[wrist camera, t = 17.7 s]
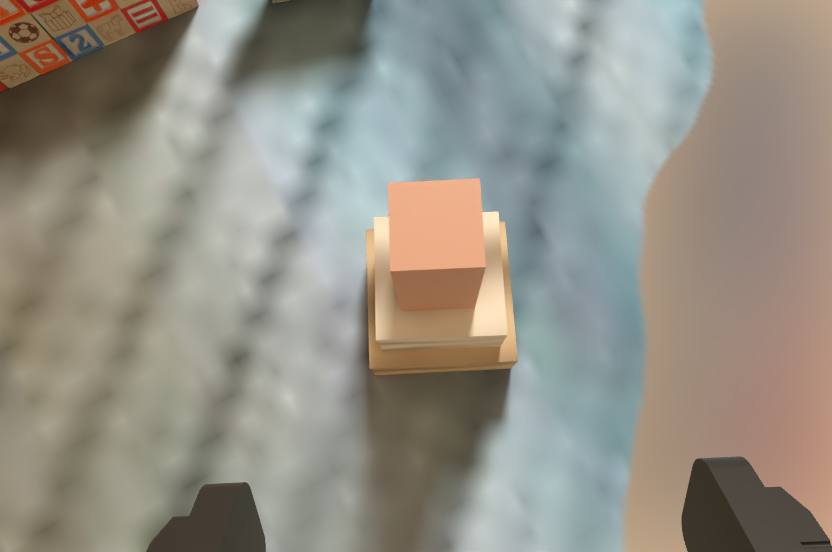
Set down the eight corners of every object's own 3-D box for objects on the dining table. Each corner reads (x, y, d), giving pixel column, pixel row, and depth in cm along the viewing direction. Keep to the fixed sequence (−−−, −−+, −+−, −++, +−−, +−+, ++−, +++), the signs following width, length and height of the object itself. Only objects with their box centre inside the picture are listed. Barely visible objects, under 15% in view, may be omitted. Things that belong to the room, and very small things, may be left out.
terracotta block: (475, 307, 37) (485, 267, 28) (401, 311, 37) (390, 271, 28) (470, 238, 38) (479, 178, 29) (399, 241, 38) (388, 182, 29)
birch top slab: (500, 346, 40) (507, 335, 36) (382, 351, 41) (375, 340, 36) (492, 235, 43) (498, 211, 38) (380, 240, 43) (374, 217, 38)
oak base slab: (510, 369, 44) (517, 360, 40) (376, 376, 45) (369, 368, 40) (499, 242, 47) (504, 221, 43) (372, 249, 47) (366, 229, 43)
